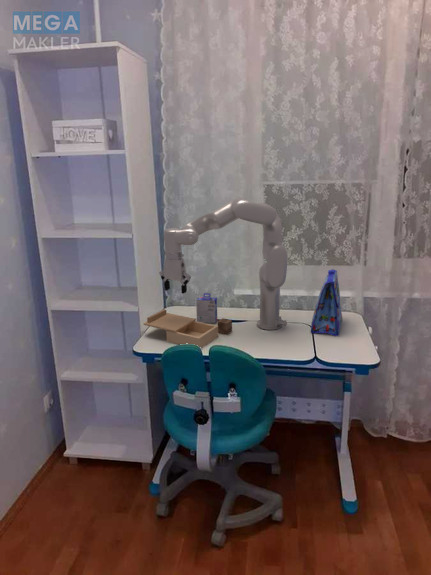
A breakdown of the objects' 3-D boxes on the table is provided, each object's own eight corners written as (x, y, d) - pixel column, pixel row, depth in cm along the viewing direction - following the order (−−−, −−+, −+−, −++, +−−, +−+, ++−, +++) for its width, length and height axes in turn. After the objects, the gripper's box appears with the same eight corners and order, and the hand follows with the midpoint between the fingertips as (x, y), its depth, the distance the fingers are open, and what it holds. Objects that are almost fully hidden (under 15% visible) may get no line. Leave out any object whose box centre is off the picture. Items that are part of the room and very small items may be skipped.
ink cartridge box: (217, 319, 238) (217, 292, 234) (215, 323, 233) (215, 296, 229) (199, 318, 240) (198, 292, 236) (196, 322, 235) (195, 295, 231)
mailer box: (218, 336, 218) (218, 326, 216) (199, 349, 205) (199, 338, 203) (186, 329, 227) (186, 319, 225) (166, 341, 214) (166, 330, 212)
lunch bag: (339, 336, 215) (343, 277, 206) (309, 333, 219) (312, 274, 210) (342, 320, 234) (346, 264, 226) (315, 317, 239) (318, 262, 230)
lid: (195, 320, 223) (195, 314, 222) (175, 332, 209) (174, 325, 208) (164, 313, 232) (164, 307, 231) (143, 324, 219) (143, 318, 218)
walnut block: (231, 331, 223) (231, 319, 222) (226, 335, 219) (226, 323, 218) (222, 329, 226) (222, 318, 224) (217, 333, 222) (217, 321, 220)
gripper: (193, 255, 210) (195, 291, 216) (163, 252, 219) (165, 286, 224) (184, 259, 204) (186, 296, 210) (153, 255, 213) (156, 291, 218)
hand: (175, 291), depth 217 cm, fingers open, 9 cm apart
